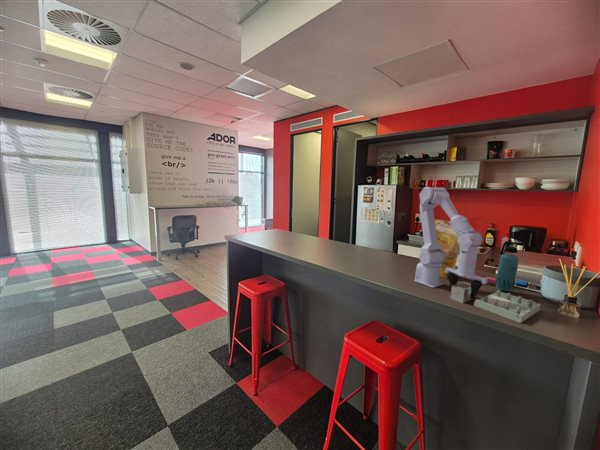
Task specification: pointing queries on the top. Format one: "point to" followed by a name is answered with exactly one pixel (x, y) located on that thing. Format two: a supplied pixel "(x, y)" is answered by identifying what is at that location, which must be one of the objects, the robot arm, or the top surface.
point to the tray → (508, 306)
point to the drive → (461, 292)
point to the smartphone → (490, 279)
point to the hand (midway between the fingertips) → (462, 294)
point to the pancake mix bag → (447, 245)
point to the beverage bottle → (507, 270)
